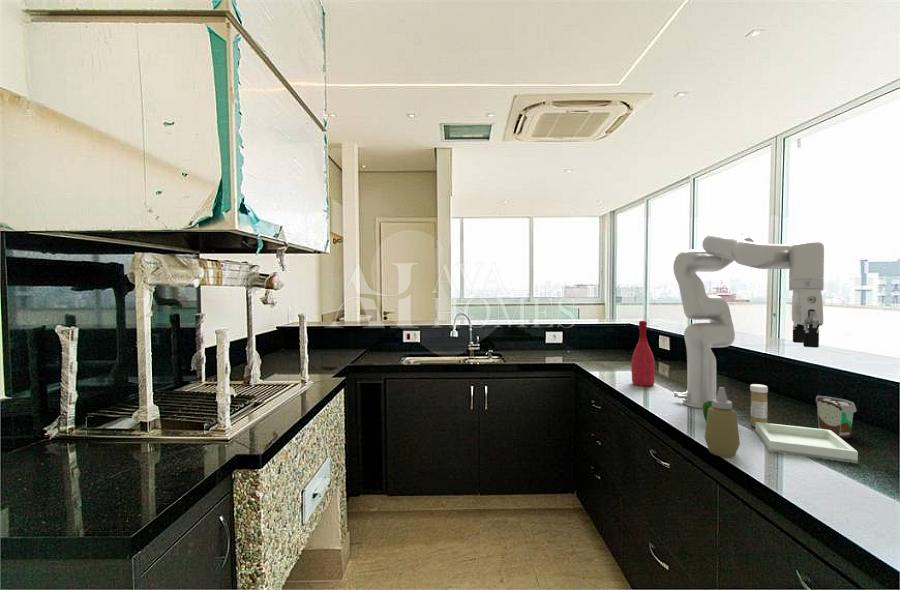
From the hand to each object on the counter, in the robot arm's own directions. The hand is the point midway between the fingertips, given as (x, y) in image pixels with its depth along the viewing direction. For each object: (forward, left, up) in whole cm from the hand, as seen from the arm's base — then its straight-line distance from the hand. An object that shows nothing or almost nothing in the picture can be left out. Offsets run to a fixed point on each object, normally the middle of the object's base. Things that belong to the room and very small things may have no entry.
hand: (805, 344), depth 119 cm
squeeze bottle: (-23, -19, -29) cm, 41 cm away
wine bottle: (-44, +62, -29) cm, 81 cm away
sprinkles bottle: (-9, +12, -29) cm, 32 cm away
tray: (-2, -3, -28) cm, 29 cm away
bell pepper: (-21, +5, -29) cm, 36 cm away
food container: (+12, +15, -29) cm, 34 cm away
